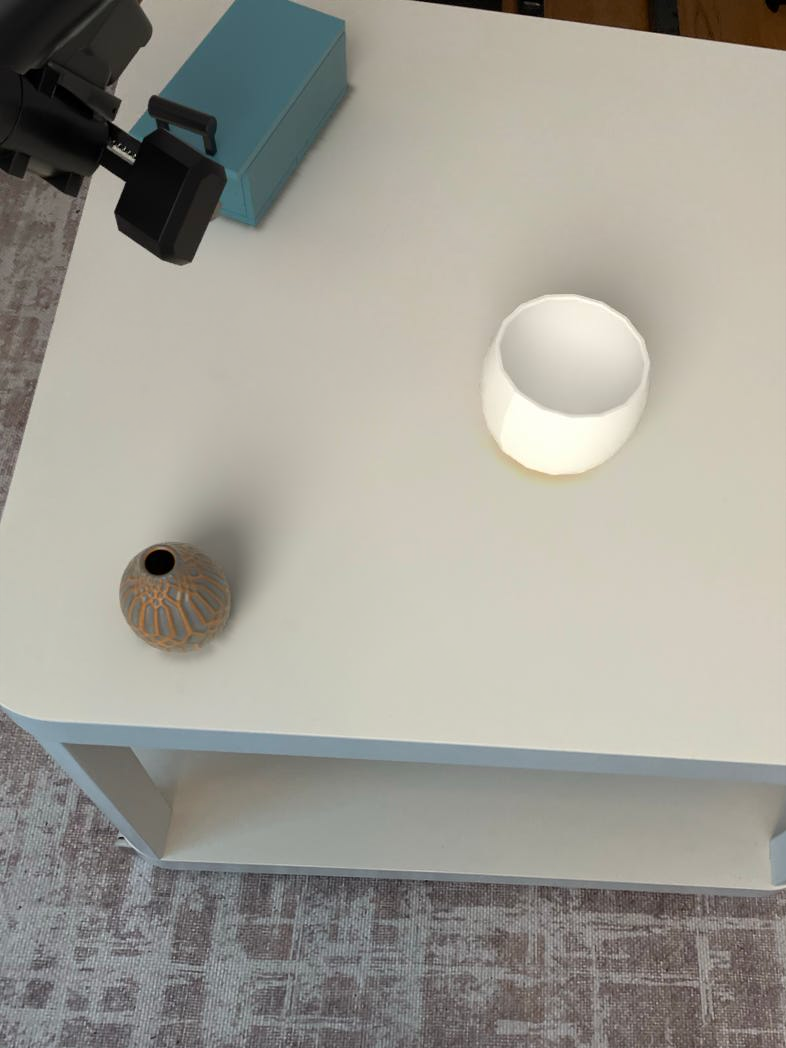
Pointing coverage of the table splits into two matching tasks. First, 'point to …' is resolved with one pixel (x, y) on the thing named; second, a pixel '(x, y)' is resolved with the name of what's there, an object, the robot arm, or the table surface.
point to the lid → (242, 79)
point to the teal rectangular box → (288, 141)
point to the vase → (175, 597)
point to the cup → (564, 383)
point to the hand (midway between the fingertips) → (165, 174)
